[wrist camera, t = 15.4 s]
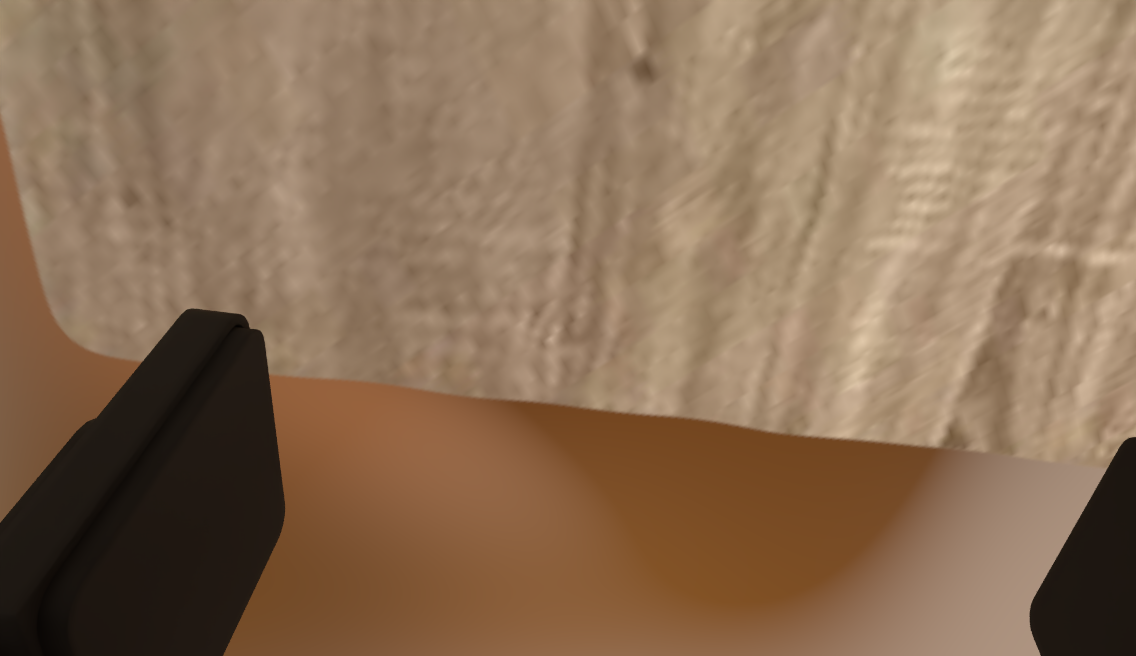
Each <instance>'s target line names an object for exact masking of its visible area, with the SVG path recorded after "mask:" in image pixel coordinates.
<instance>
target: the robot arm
mask: <svg viewBox="0 0 1136 656" xmlns="http://www.w3.org/2000/svg"><path fill="white" fill-rule="evenodd" d="M284 516H285V501H284V493H283V485H282V477H281V470H280V461H279V454H278V445H277V437H276V429H275V422H274V413H273V405H272V397H271V389H270V381H269V373H268V365H267V357H266V349H265V341H264V337H263V334H262V332H261V331H259V330H256V329H250V328H249V324H248V321H247V320H246V318H245V317H244V316H243V315H241V314H234V313H226V312H218V311H210V310H202V309H193V308H192V309H187V310H186V311H185V312H184V313H183V314H181V316H180V317H179V318H178V319H177V320H176V322H175V323H174V324H173V325H172V327H171V328H170V329H169V330H168V331H167V333H166V334H165V335H164V336H163V337H162V339H161V340H160V341H159V342H158V344H157V345H156V346H155V347H154V348H153V350H152V351H151V352H150V353H149V355H148V356H147V357H146V358H145V359H144V361H143V362H142V363H141V364H140V366H139V367H138V368H137V369H136V370H135V372H134V373H133V374H132V375H131V377H130V378H129V379H128V380H127V382H126V383H125V384H124V385H123V386H122V388H121V389H120V390H119V391H118V392H117V394H116V395H115V396H114V397H113V398H112V400H111V401H110V402H109V403H108V405H107V406H106V407H105V408H104V410H103V411H102V412H101V413H100V414H99V416H98V417H97V418H95V419H93V420H90V421H88V422H86V423H85V424H84V425H83V426H82V427H81V428H80V429H79V430H78V431H76V433H75V434H74V435H73V436H72V437H71V439H70V440H69V441H68V442H67V443H66V445H65V446H64V447H63V448H62V450H61V451H60V452H59V453H58V454H57V455H56V457H55V458H54V459H53V460H52V461H51V463H50V464H49V465H48V466H47V467H46V469H45V470H44V471H43V472H42V473H41V475H40V476H39V477H38V478H37V479H36V481H35V482H34V483H33V484H32V485H31V487H30V488H29V489H28V490H27V491H26V493H25V494H24V495H23V496H22V497H21V499H20V500H19V501H18V502H17V503H16V505H15V506H14V507H13V508H12V509H11V511H10V512H9V513H8V514H7V515H6V517H5V518H4V519H3V520H2V521H1V523H0V656H223V654H224V652H225V650H226V648H227V646H228V644H229V642H230V639H231V637H232V635H233V633H234V631H235V629H236V627H237V625H238V623H239V621H240V619H241V616H242V614H243V612H244V610H245V608H246V606H247V604H248V602H249V600H250V597H251V595H252V593H253V591H254V589H255V587H256V585H257V583H258V581H259V579H260V576H261V574H262V572H263V570H264V568H265V566H266V564H267V561H268V560H269V557H270V555H271V553H272V551H273V549H274V547H275V545H276V543H277V540H278V538H279V536H280V533H281V530H282V526H283V522H284ZM1030 627H1031V631H1032V634H1033V637H1034V640H1035V642H1036V645H1037V647H1038V650H1039V652H1040V655H1041V656H1136V437H1132V438H1128V439H1127V440H1125V441H1124V442H1123V444H1122V445H1121V446H1120V448H1119V449H1118V451H1117V453H1116V455H1115V456H1114V458H1113V460H1112V462H1111V463H1110V465H1109V467H1108V469H1107V470H1106V472H1105V474H1104V476H1103V477H1102V479H1101V481H1100V483H1099V484H1098V486H1097V488H1096V490H1095V491H1094V493H1093V495H1092V497H1091V499H1090V500H1089V502H1088V504H1087V506H1086V507H1085V509H1084V511H1083V513H1082V514H1081V516H1080V518H1079V520H1078V522H1077V523H1076V525H1075V527H1074V528H1073V530H1072V532H1071V534H1070V535H1069V537H1068V539H1067V541H1066V542H1065V544H1064V546H1063V548H1062V549H1061V551H1060V553H1059V555H1058V557H1057V558H1056V560H1055V562H1054V564H1053V565H1052V567H1051V569H1050V570H1049V572H1048V574H1047V576H1046V578H1045V579H1044V581H1043V583H1042V585H1041V586H1040V588H1039V590H1038V592H1037V593H1036V595H1035V597H1034V599H1033V601H1032V604H1031V608H1030Z"/></svg>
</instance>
